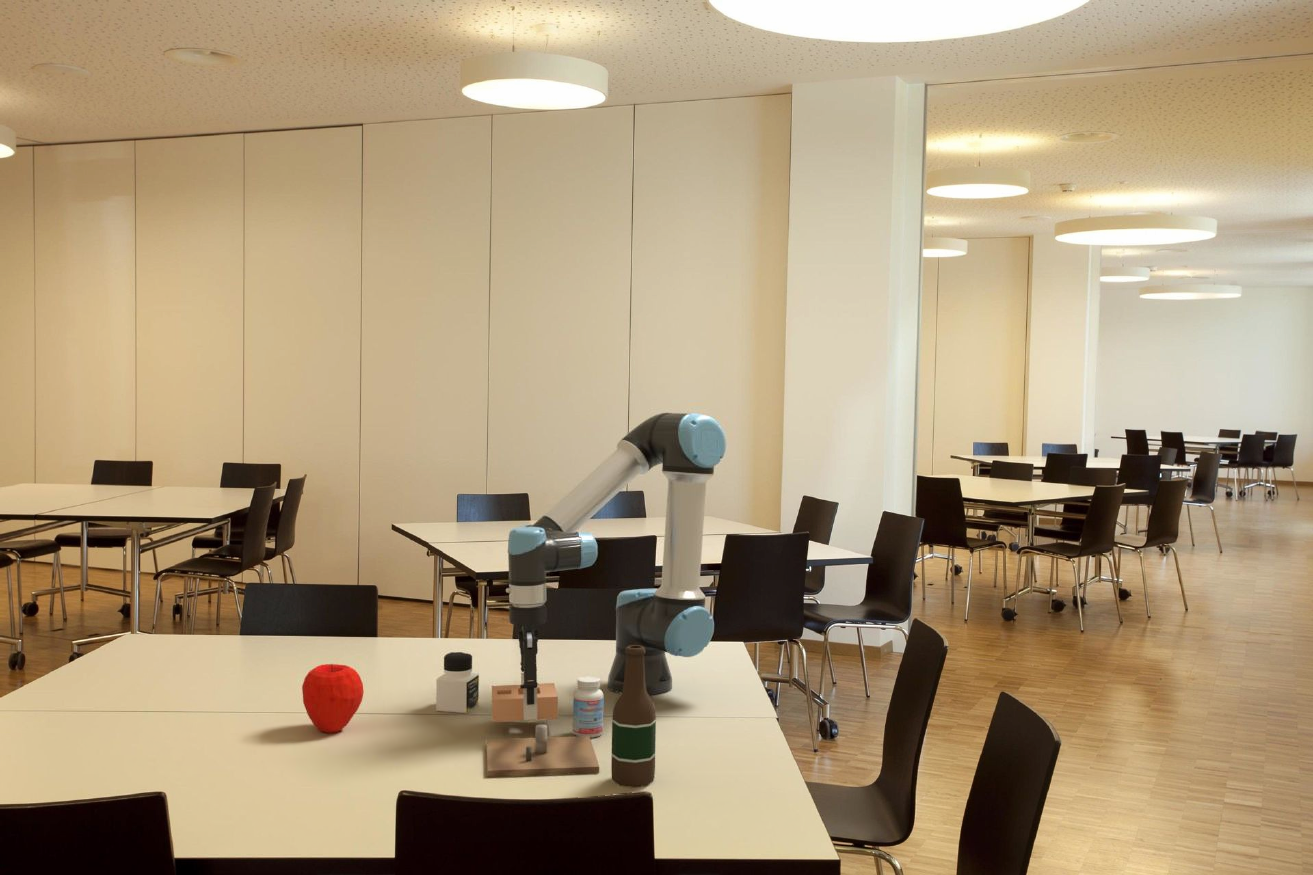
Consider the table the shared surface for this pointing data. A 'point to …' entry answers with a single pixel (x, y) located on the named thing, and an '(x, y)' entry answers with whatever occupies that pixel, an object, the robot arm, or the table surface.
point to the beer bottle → (633, 726)
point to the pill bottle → (588, 708)
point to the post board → (540, 755)
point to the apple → (332, 696)
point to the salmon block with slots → (511, 702)
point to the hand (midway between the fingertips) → (529, 711)
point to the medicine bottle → (457, 684)
